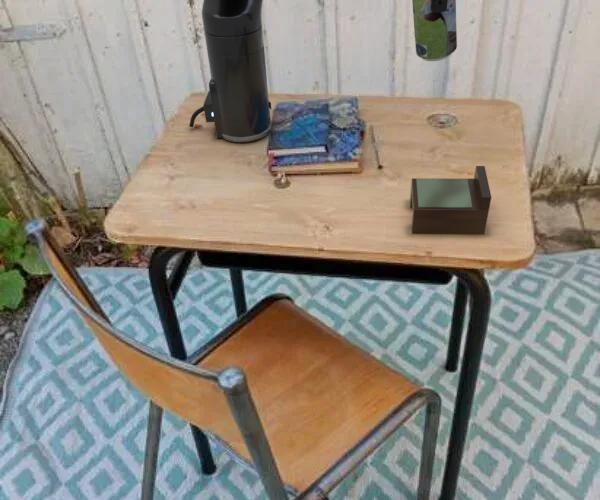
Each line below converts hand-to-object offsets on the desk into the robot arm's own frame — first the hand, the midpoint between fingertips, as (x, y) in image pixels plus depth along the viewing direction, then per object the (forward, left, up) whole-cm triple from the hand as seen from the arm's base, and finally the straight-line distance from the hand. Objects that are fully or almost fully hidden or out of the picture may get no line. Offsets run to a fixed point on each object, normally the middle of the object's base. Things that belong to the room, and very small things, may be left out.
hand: (436, 2), depth 92 cm
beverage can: (0, 0, -8) cm, 8 cm away
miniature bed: (+2, -22, -22) cm, 31 cm away
